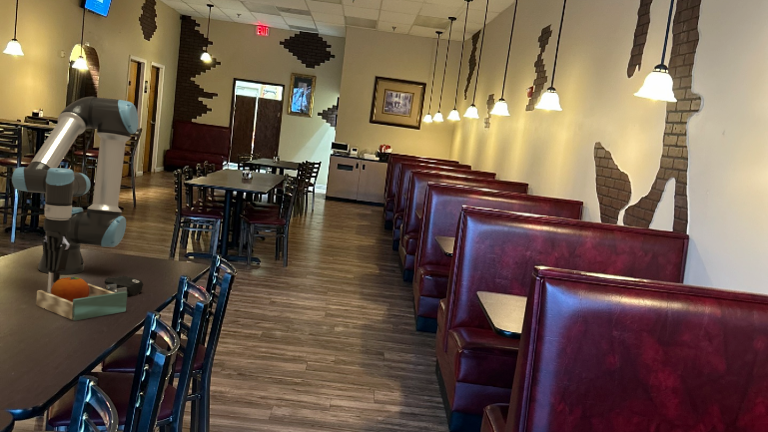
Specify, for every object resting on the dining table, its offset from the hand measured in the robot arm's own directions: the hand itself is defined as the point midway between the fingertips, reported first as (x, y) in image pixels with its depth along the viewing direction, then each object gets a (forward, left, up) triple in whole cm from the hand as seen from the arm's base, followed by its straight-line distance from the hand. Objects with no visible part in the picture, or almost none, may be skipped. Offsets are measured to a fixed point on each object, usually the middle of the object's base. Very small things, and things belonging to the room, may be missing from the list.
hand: (53, 291), depth 204 cm
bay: (+15, 0, -2) cm, 15 cm away
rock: (+7, +20, -2) cm, 22 cm away
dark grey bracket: (+16, +11, -2) cm, 19 cm away
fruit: (+9, 0, -2) cm, 9 cm away
